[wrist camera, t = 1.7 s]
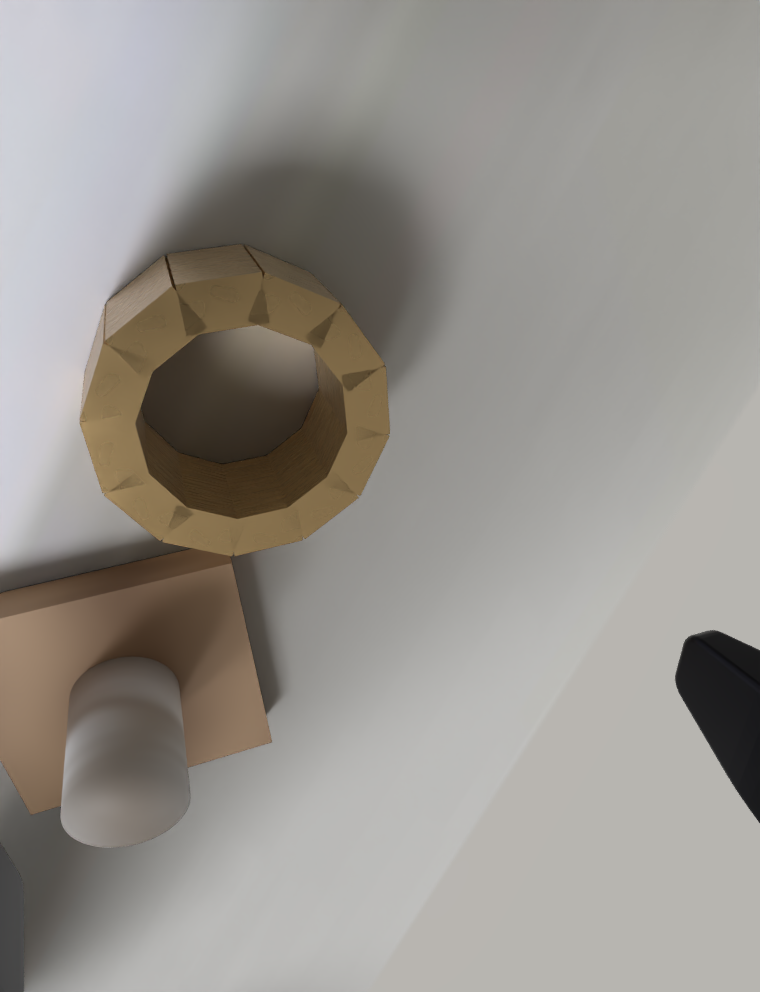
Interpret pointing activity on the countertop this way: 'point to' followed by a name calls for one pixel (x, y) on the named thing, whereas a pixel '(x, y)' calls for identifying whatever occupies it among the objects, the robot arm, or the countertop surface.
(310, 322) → the ring
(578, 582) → the countertop surface
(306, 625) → the countertop surface
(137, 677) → the peg stand
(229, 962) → the countertop surface
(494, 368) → the countertop surface
